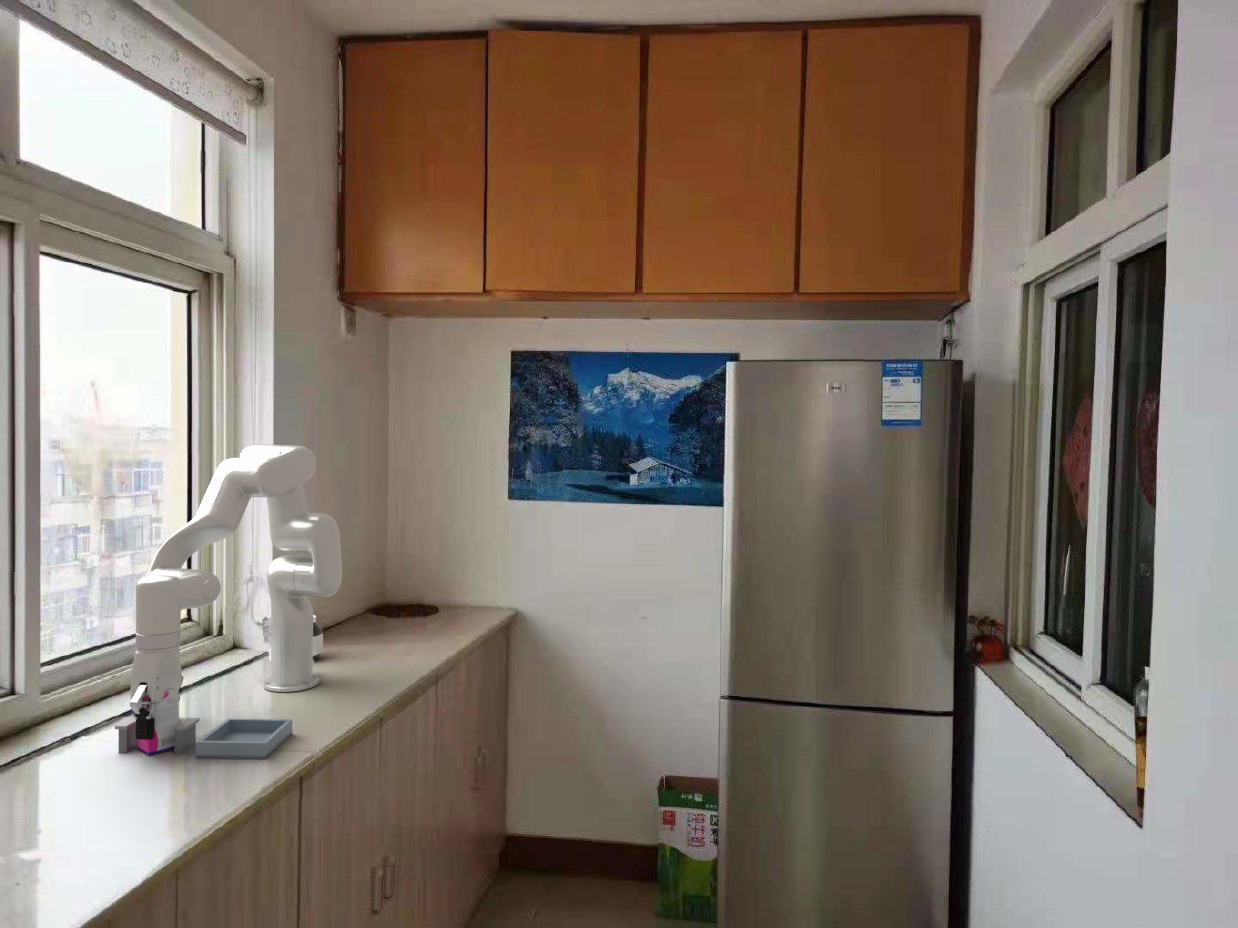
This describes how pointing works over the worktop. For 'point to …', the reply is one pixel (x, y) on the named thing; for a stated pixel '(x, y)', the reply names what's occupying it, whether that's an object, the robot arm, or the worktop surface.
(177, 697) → the supplement box
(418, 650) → the worktop surface
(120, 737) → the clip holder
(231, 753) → the tray
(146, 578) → the robot arm
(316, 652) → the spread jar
